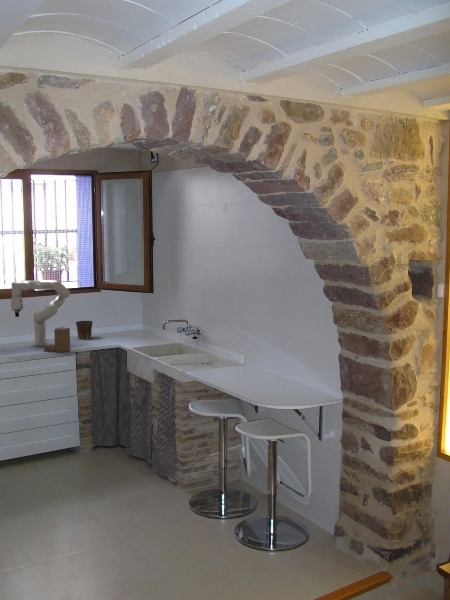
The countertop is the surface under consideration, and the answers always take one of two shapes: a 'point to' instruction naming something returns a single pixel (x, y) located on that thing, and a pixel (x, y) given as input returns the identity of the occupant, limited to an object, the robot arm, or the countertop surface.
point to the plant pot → (84, 329)
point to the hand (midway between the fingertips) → (17, 316)
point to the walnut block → (49, 347)
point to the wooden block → (62, 339)
